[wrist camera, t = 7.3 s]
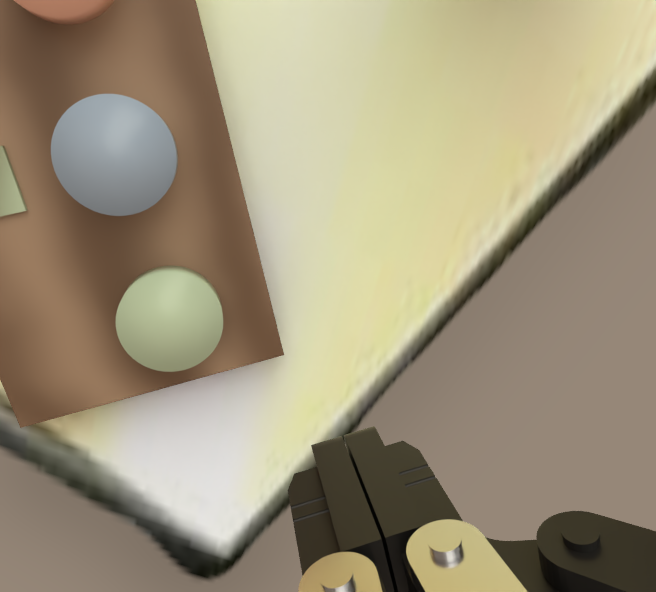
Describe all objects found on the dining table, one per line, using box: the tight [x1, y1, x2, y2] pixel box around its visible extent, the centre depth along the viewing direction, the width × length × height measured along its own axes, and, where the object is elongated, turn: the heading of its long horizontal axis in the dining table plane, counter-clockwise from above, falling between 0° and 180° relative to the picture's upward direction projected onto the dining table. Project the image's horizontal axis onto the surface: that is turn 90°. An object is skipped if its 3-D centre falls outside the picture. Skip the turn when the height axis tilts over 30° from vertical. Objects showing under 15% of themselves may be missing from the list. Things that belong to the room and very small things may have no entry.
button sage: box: [116, 266, 223, 372], centre depth 28 cm, size 5×5×2 cm
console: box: [0, 0, 284, 428], centre depth 28 cm, size 14×24×3 cm, turn 12°
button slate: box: [51, 94, 178, 216], centre depth 25 cm, size 5×5×2 cm
